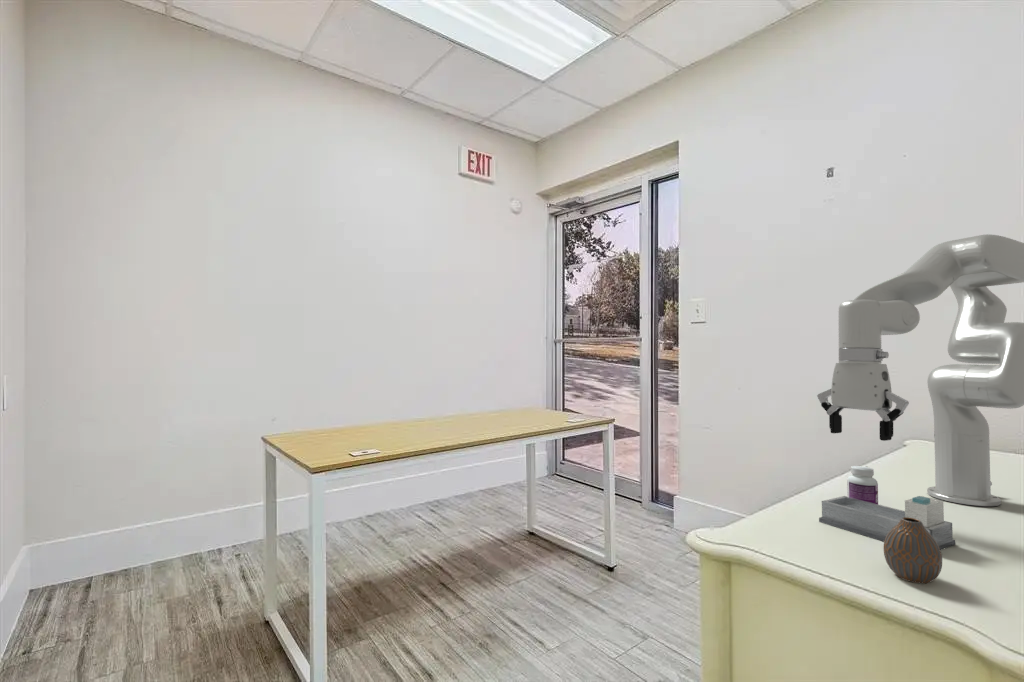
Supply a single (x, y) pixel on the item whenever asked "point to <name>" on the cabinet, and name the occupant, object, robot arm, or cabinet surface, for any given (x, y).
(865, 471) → the pill bottle
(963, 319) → the robot arm
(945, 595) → the cabinet surface
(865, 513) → the grey tray
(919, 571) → the vase
